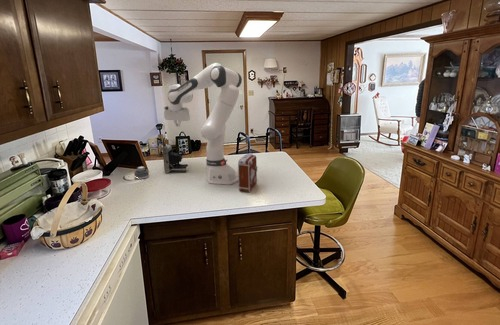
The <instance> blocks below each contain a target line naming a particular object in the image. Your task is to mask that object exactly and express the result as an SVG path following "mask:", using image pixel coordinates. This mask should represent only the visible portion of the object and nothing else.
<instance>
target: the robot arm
mask: <svg viewBox="0 0 500 325" xmlns="http://www.w3.org/2000/svg"><path fill="white" fill-rule="evenodd" d="M242 78H243V77H242V76H241V74H240V73H239V72H238V71H234V70H232V69H230V68H229V67H225V66H223V65H222V64H220V62H219V63H218V62H214V63H211V64H209V65H208V66H206V67H205V68H203V70H201V71H199V72H198V73H197V74H196V75H195V76H193V77H192V78H191V79H188V80H187V81H185V83H183V84H180V83H172V84H170V85H169V86H168V93H167V100H168V101H169V104H168V105H166V106H164V107H163V110H164V112H163V116H164V117H163V118H164V119H165V121H173V123H174V125H175V127H178V128H179V127H181V123H182V121H185V122H188V121H190V119H191V116H190V110H189V108H188V107H183V104H188V103H190V102H191V101H193V96H194V94H193V91H195V90H196V91H198V90H203V89H208V88H210V87H212V86H214V85H215V86H216V87H217V88H220V93H219V96H218V97H217V99H216V102H215V103H214V104H215V105H214V106H213V108H212V110H211V113H209V115H208V117H207V119H206V121H205V122H204V124H203V126H202V127H201V129H200V134H201V137H202V138H203V139H204V140H206V141H207V143H206V150H205V151H206V160H205V161H206V162H205V163H206V175H205V180H206V182H207V183H208V184H211V185H212V184H215V185H217V184H218V185H230V186H231V185H233V184H235V183H237V182H239V176H238V175H237V173H236V171H235V169H234V168H233V167H231V166H230V165H229V164H228V163H227V162H228V159H226V158H225V153H224V152H225V151H224V150H225V149H224V146H225V145H224V144H225V143H224V142H225V132H226V122H227V121H228V120H229V118H230V117H231V114H232V112H233V110H234V108H235V106H236V104H237V101H238V98H239V95H240V89H239V87H241V84H242V80H243V79H242Z"/></svg>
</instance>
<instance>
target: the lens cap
mask: <svg viewBox="0 0 500 325" xmlns="http://www.w3.org/2000/svg"><path fill="white" fill-rule="evenodd" d="M145 169H146V166H142V165H141V166H138V167H136V170H137V172H138V173H142V172H145Z"/></svg>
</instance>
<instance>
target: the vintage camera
mask: <svg viewBox="0 0 500 325" xmlns="http://www.w3.org/2000/svg"><path fill="white" fill-rule="evenodd" d="M172 148H173V147H172V145H171V144H170V143H167V144H166V145H164V146H163V147H162V155H163V169H164V170H163V172H164V173H165V174H169V173H170V172H171V171H172V170H184V169H185V172H187V168H188V166H189V164H185V163H181V162H182V160H183V156H184V154H185V151H181V152H180V153H179V152H175V151H172V150H173V149H172Z"/></svg>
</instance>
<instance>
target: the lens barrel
mask: <svg viewBox="0 0 500 325" xmlns="http://www.w3.org/2000/svg"><path fill="white" fill-rule="evenodd" d="M133 173H134V177H135V176H136V177H138V178H139V179H140V180H146V179H148V178H149V177H150V174H149V173H150V172H149V169H148V168H145V172H142V173H138V172H137V169H136V170H134V172H133ZM139 179H138V180H139Z"/></svg>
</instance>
